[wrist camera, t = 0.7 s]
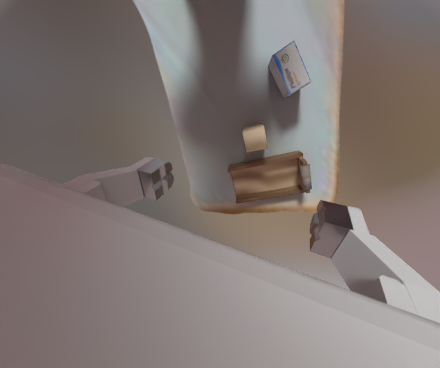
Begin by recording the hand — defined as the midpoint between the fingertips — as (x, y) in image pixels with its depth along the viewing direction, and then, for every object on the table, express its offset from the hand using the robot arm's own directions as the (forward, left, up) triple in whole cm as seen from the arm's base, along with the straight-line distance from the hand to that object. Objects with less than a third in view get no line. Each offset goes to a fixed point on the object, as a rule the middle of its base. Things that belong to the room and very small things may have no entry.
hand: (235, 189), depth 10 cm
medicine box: (-9, +10, -41) cm, 43 cm away
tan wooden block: (+2, +1, -40) cm, 40 cm away
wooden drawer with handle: (+14, +2, -40) cm, 43 cm away
